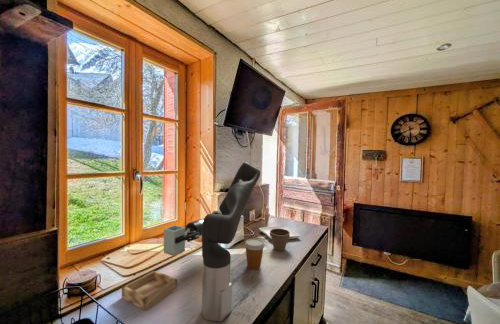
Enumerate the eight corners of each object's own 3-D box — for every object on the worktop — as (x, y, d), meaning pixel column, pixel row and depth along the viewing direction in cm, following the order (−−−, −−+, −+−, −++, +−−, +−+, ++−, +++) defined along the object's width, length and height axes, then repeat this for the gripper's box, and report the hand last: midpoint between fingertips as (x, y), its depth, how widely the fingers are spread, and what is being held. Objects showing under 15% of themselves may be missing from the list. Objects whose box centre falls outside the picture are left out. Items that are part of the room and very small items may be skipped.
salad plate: (284, 229, 164) (284, 224, 164) (301, 240, 144) (301, 235, 144) (258, 232, 156) (258, 227, 156) (271, 243, 136) (271, 238, 136)
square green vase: (184, 250, 95) (185, 227, 95) (173, 256, 90) (174, 231, 89) (174, 247, 98) (175, 225, 98) (163, 252, 93) (164, 228, 92)
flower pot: (280, 255, 120) (280, 236, 120) (265, 248, 129) (265, 230, 129) (293, 249, 128) (294, 232, 128) (278, 243, 137) (279, 227, 136)
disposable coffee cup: (253, 260, 114) (254, 236, 113) (267, 267, 107) (268, 242, 107) (239, 266, 107) (240, 241, 107) (253, 274, 100) (254, 247, 100)
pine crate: (176, 289, 87) (177, 279, 87) (145, 310, 75) (145, 299, 75) (154, 279, 94) (154, 270, 93) (121, 297, 81) (122, 287, 81)
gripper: (186, 218, 109) (158, 227, 95) (209, 223, 103) (182, 233, 88) (186, 233, 110) (157, 244, 95) (209, 239, 103) (182, 252, 88)
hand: (170, 239), depth 91 cm, fingers closed on square green vase, 6 cm apart
